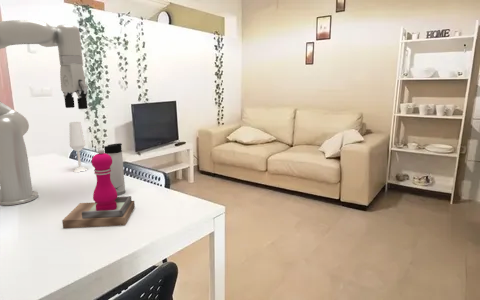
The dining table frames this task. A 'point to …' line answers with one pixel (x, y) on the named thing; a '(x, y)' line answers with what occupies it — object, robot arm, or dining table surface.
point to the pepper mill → (103, 182)
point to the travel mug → (116, 167)
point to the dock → (99, 214)
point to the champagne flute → (77, 142)
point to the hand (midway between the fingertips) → (76, 108)
